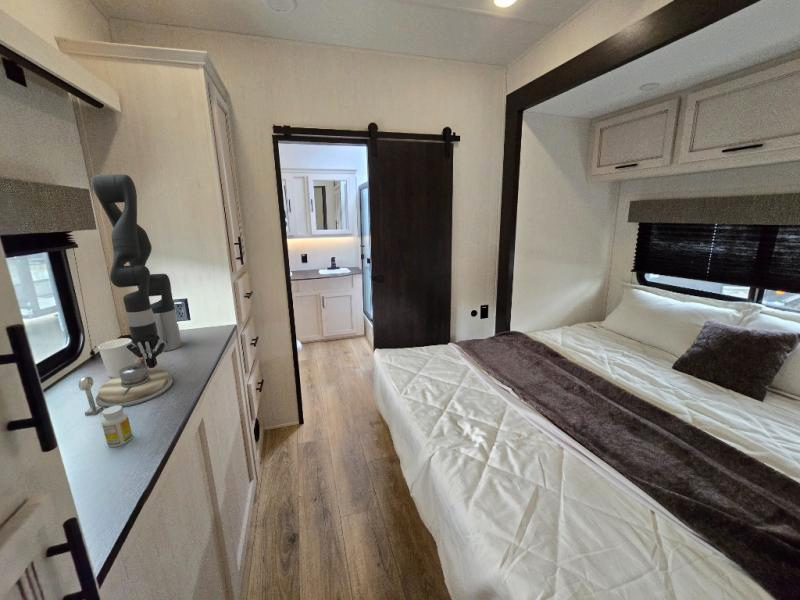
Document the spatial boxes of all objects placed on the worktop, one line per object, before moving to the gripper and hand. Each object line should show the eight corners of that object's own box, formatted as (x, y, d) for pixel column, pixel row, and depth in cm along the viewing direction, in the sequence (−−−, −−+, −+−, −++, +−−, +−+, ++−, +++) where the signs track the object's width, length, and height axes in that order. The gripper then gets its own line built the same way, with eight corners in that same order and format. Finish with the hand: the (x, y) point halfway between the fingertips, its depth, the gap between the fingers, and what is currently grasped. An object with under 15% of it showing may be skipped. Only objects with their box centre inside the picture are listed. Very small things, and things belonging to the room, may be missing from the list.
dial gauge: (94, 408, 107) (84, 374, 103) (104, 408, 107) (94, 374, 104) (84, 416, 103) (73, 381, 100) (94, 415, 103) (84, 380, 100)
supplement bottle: (110, 450, 88) (101, 418, 86) (105, 441, 92) (96, 410, 89) (135, 439, 92) (127, 408, 90) (130, 431, 95) (122, 401, 93)
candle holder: (120, 379, 124) (112, 349, 121) (98, 377, 126) (90, 347, 123) (144, 367, 133) (138, 339, 130) (124, 365, 135) (117, 337, 132)
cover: (127, 378, 118) (123, 365, 117) (153, 374, 121) (150, 361, 119) (117, 389, 111) (113, 375, 110) (145, 385, 114) (141, 371, 112)
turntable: (114, 378, 122) (110, 362, 121) (175, 369, 128) (172, 354, 127) (87, 407, 105) (81, 389, 103) (159, 396, 111) (155, 378, 109)
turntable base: (124, 377, 126) (123, 375, 126) (184, 374, 128) (183, 371, 128) (78, 410, 106) (78, 407, 105) (150, 405, 108) (150, 403, 107)
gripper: (167, 317, 124) (177, 361, 128) (128, 319, 122) (139, 363, 127) (156, 324, 116) (166, 370, 121) (114, 326, 115) (126, 373, 120)
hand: (152, 366), depth 124 cm, fingers closed
